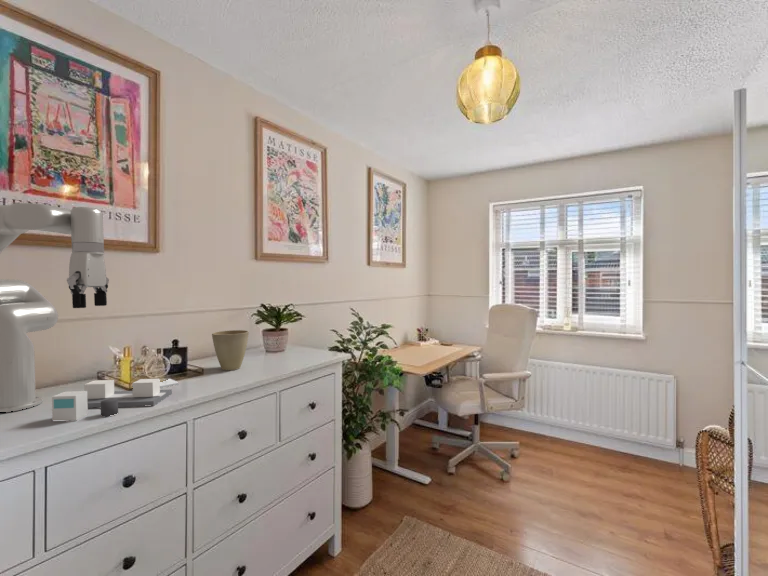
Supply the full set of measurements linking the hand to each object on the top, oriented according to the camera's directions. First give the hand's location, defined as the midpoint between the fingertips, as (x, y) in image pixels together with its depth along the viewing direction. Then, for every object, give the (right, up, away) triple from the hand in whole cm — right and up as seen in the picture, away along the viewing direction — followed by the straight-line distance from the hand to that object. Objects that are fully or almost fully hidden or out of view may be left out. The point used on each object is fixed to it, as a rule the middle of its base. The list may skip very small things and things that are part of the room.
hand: (90, 306), depth 110 cm
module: (0, -31, -7) cm, 32 cm away
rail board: (+5, -31, +7) cm, 32 cm away
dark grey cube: (+9, -31, -4) cm, 32 cm away
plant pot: (+21, -30, +50) cm, 62 cm away
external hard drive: (+5, -31, +23) cm, 39 cm away
